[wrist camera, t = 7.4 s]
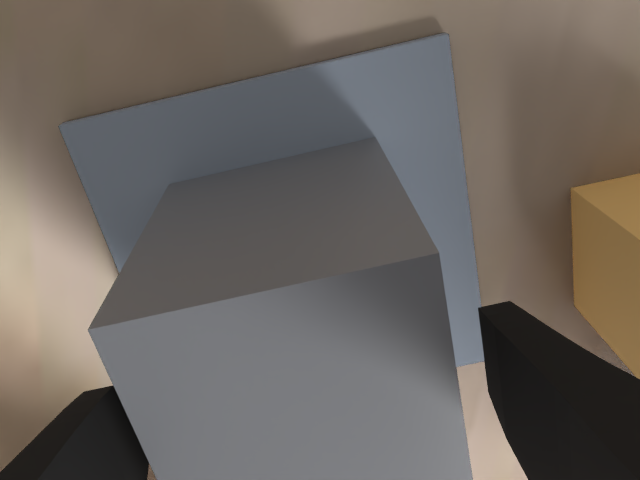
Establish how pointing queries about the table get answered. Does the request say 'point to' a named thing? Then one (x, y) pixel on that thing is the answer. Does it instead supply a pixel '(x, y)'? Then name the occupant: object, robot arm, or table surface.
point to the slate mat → (298, 149)
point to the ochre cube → (609, 262)
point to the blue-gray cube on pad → (287, 328)
